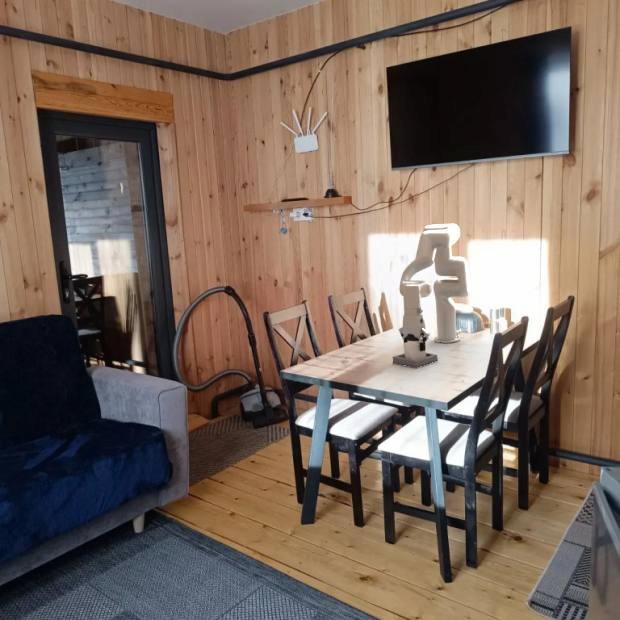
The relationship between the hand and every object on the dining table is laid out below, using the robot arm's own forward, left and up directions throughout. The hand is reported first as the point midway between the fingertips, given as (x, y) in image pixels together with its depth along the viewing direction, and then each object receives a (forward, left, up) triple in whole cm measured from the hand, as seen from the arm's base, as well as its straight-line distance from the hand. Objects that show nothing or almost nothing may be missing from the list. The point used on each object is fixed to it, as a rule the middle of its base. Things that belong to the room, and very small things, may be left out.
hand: (414, 349), depth 261 cm
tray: (0, 0, -6) cm, 6 cm away
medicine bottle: (0, 0, -5) cm, 5 cm away
